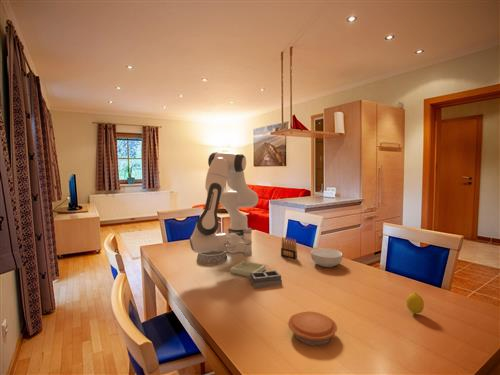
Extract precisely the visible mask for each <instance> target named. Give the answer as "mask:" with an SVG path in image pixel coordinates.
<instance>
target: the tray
mask: <svg viewBox="0 0 500 375" xmlns="http://www.w3.org/2000/svg"><path fill="white" fill-rule="evenodd" d="M264 271H266V264H262V263H256V262H251V261H246V260H242V261H240V262H239V263H237V264H234V265H233V266H232V267H230V274H233V275H237V276H243V277H246V278H247V277H248V278H250V273H255V272H264Z"/></svg>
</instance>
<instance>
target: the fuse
mask: <svg viewBox="0 0 500 375" xmlns="http://www.w3.org/2000/svg"><path fill="white" fill-rule="evenodd" d="M243 232H244V240H249V239H250V240H251V243H250V244H246V245H245V249H244V252H243V257H246V258H248V257H249V258H250V257H252V256H253V249H252V246H253V243H252V242H253V241H252V238H253V237H252V232H253V231H252V228H251V227H247V228H244V229H243Z"/></svg>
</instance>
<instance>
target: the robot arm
mask: <svg viewBox="0 0 500 375" xmlns="http://www.w3.org/2000/svg"><path fill="white" fill-rule="evenodd" d="M207 162H208V170H207V174H206V177H205V186H204V187H205V190H206V194H207V195H206V200H205V205H204V209H203V212H202V214H201V215H199V217H198V219H197V222H196V223H195V227H194V230H193V232H192V234H191V235H190V237H189V245H190V248H191V250H192V251H193V252H194V253H196V254H198V253H208V252H212V251H216V252H219V251H226V253H230V254H235V253H236V254H237V253H244V249H245V245H246V244H250V243H251V240H250V239H249V240H244V232H243V229H244V228H248V216H247V215H246V214H245V213H244V212H242V211H240V209H239V208H253V207H257V204H258V202H259V195H258V193H257V192H256V191H254V190H253V189H252V188H250V187H249V186H248V184H247V182H246V178H245V172H244V170H245V169H246V167H247V157H246V156H245V155H244V154H243V153H235V152H228V151H227V152H226V151H225V152H223V151H222V152H221V151H220V152H218V151H215V152H212V153H210V155H209V156H208V161H207ZM227 186H228V188H230V189H231V190H226V191H225V188H226V187H227ZM219 206H222V207H223V208H224V209H225V210H226V212H227V213H228V215H229V221H230V227H229V228H228V229H227V233H226V232H223V231H222V232H219V233H216V232H217V231H218V228H219V218H218V209H219Z"/></svg>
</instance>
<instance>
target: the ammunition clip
mask: <svg viewBox="0 0 500 375" xmlns="http://www.w3.org/2000/svg"><path fill="white" fill-rule="evenodd" d="M280 257H284V258H287V259H291V260H298V250H297V240H296V239H293V238H291V237H286V236H285V237H284V236H282V238H281V248H280Z"/></svg>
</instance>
